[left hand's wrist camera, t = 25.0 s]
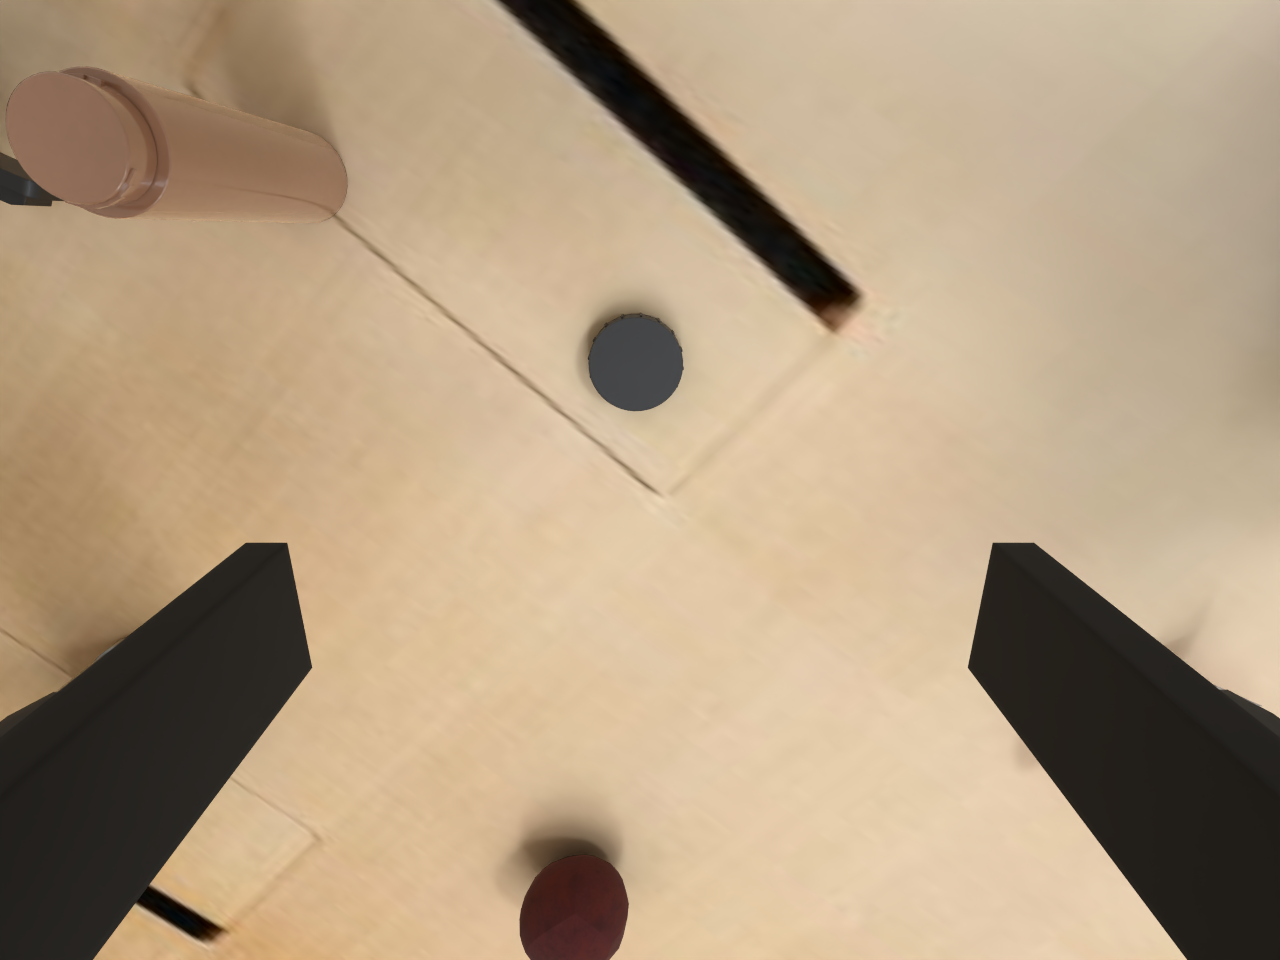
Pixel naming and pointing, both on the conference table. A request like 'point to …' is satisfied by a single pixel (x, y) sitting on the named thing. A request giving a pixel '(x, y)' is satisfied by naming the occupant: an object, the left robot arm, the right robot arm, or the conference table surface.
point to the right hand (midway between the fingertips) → (71, 88)
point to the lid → (635, 362)
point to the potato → (574, 911)
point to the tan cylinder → (166, 153)
